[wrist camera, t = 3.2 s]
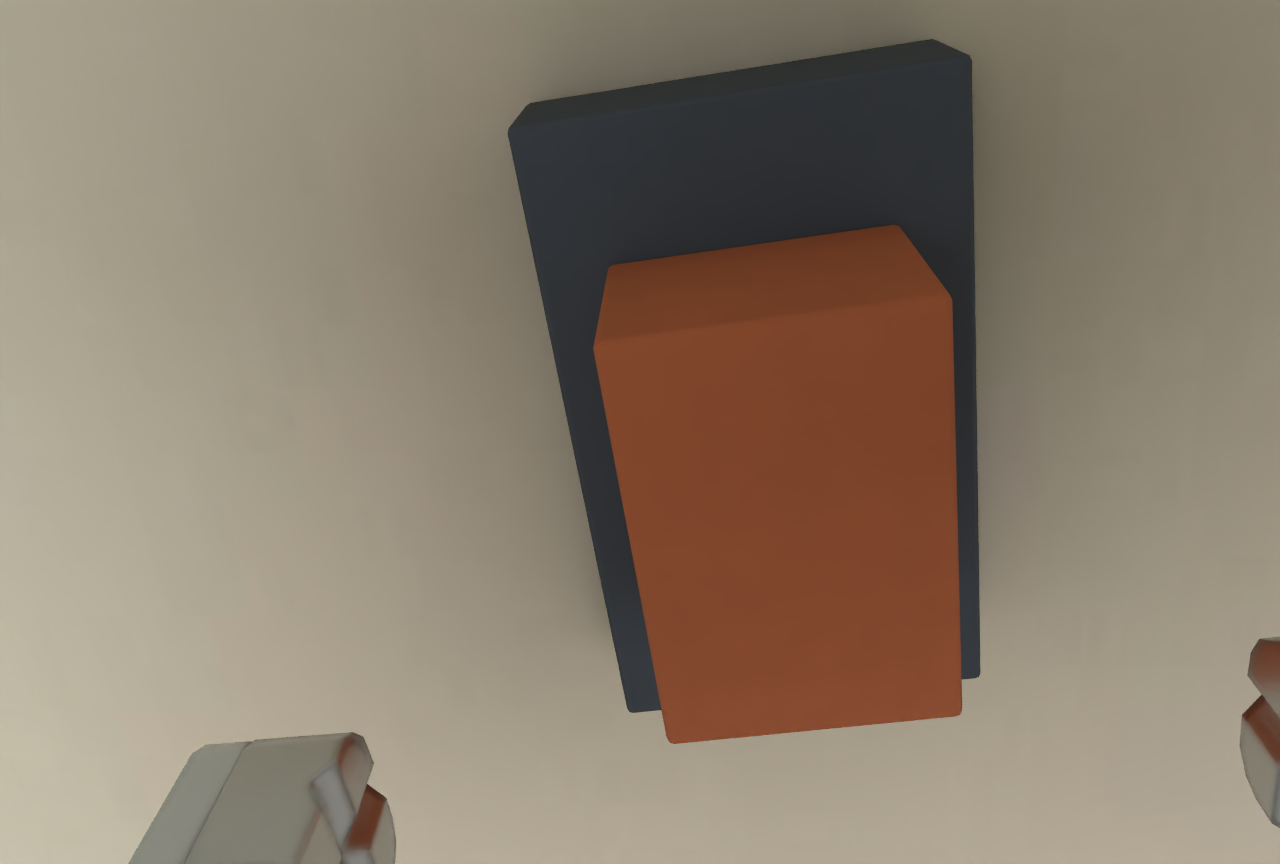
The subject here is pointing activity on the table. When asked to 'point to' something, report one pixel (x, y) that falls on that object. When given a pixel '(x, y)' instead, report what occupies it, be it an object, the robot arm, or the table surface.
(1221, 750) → the table surface
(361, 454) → the table surface
